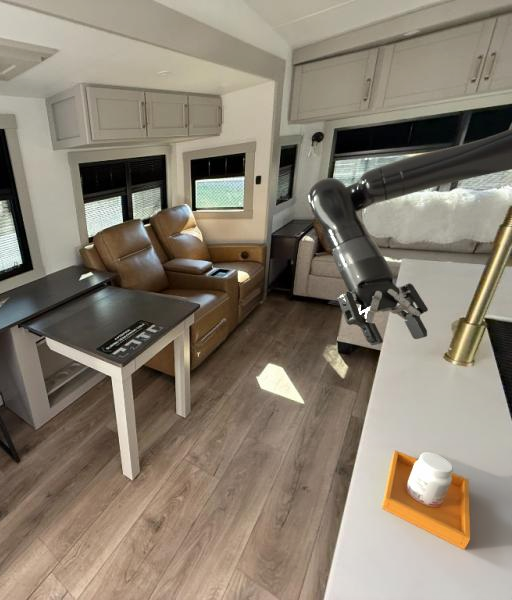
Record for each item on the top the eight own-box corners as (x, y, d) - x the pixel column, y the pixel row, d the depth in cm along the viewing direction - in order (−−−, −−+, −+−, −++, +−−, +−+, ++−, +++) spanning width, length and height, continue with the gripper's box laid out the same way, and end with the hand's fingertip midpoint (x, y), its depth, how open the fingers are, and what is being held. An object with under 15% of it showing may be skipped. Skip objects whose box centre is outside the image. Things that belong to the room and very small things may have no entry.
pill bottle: (437, 489, 58) (452, 456, 55) (444, 512, 54) (460, 478, 51) (403, 478, 60) (415, 446, 57) (408, 500, 57) (420, 466, 54)
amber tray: (463, 489, 58) (468, 479, 57) (464, 550, 50) (470, 539, 49) (391, 459, 65) (394, 449, 64) (381, 508, 57) (385, 497, 56)
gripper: (339, 259, 60) (378, 341, 54) (409, 250, 61) (456, 329, 55) (316, 277, 67) (348, 351, 61) (379, 268, 68) (417, 341, 62)
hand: (399, 341), depth 58 cm, fingers open, 8 cm apart
